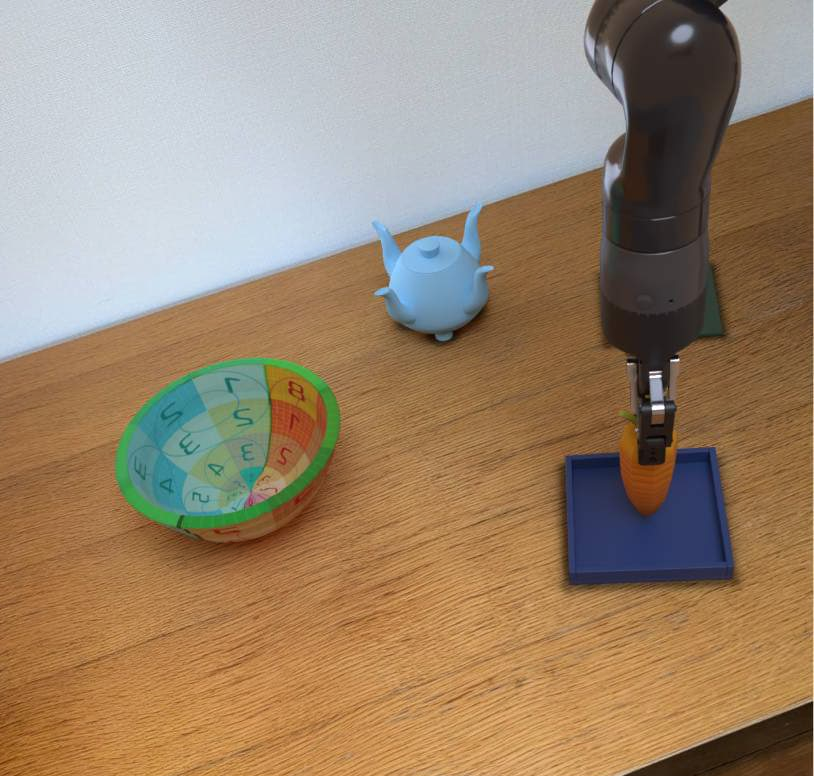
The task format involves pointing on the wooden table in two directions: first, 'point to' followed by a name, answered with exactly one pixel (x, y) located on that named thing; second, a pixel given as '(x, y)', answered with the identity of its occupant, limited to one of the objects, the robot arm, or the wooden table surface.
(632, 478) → the carrot
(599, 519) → the tray
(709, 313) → the mat
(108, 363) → the wooden table surface
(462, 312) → the teapot
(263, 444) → the bowl
